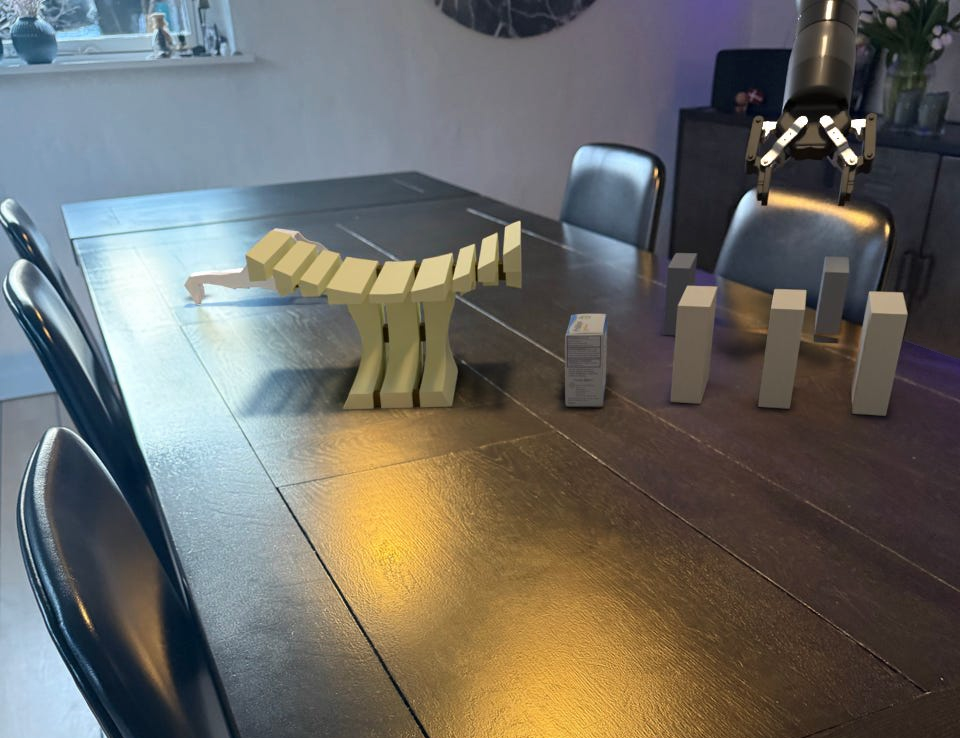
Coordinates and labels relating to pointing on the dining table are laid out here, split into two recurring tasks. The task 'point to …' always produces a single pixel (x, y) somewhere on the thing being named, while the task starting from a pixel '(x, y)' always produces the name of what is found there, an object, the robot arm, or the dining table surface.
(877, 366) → the cream blocks
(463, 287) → the slatted curved stool
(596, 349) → the medicine box
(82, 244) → the dining table surface
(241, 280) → the horse figurine
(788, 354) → the beige rectangular block
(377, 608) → the dining table surface
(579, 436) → the dining table surface
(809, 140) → the robot arm
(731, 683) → the dining table surface
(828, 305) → the grey blocks
